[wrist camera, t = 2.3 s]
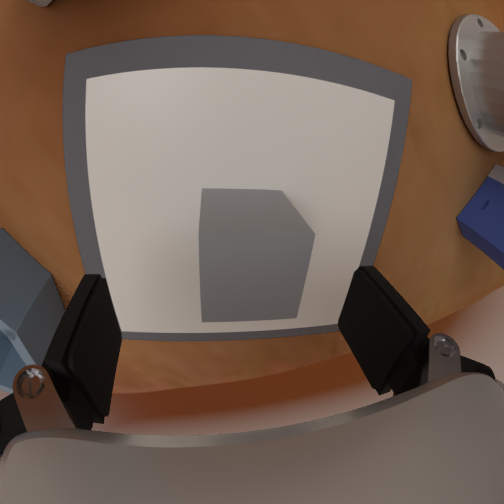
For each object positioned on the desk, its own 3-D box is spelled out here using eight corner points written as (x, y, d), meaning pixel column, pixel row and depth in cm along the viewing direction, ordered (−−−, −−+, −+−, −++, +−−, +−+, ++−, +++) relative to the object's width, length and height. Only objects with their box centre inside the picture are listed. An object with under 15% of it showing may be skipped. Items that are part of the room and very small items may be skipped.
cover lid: (384, 99, 13) (460, 110, 7) (334, 315, 20) (364, 374, 15) (94, 79, 10) (29, 73, 5) (124, 321, 18) (108, 389, 13)
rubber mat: (407, 79, 12) (412, 79, 12) (346, 325, 22) (348, 329, 22) (69, 55, 9) (65, 54, 9) (108, 333, 19) (107, 338, 18)
